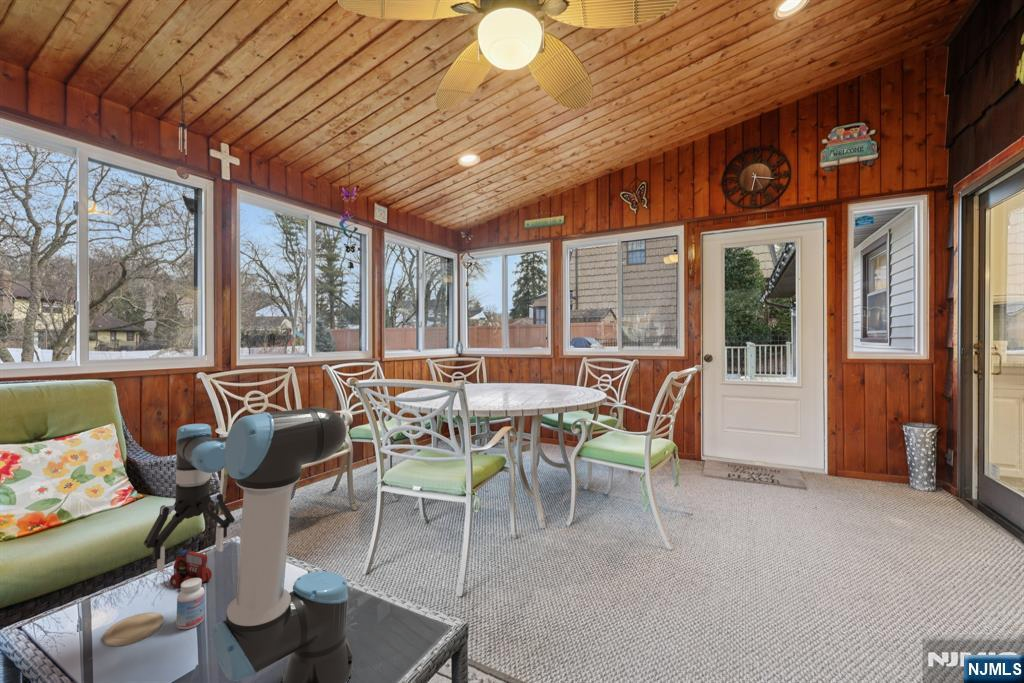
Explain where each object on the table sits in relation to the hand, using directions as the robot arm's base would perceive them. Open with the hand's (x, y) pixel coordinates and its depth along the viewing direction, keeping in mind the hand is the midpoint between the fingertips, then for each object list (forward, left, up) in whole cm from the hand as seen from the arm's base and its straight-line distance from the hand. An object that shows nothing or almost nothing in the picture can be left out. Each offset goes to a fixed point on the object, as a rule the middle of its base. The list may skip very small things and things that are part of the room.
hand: (191, 559), depth 120 cm
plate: (+8, +10, -17) cm, 21 cm away
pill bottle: (0, 0, -18) cm, 18 cm away
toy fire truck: (+21, -7, -18) cm, 28 cm away
